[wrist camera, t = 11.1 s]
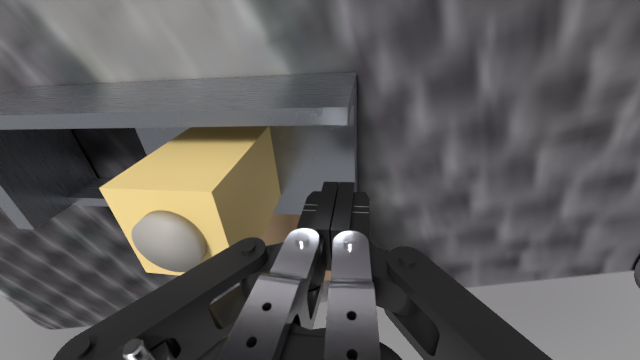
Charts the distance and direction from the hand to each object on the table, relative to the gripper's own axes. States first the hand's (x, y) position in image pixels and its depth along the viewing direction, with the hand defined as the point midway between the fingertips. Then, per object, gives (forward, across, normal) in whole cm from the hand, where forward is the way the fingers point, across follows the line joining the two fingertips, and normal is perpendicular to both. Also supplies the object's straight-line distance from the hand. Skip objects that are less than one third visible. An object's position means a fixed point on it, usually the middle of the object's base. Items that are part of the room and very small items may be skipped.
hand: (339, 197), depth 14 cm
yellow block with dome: (+4, +7, 0) cm, 8 cm away
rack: (+7, +12, 0) cm, 13 cm away
